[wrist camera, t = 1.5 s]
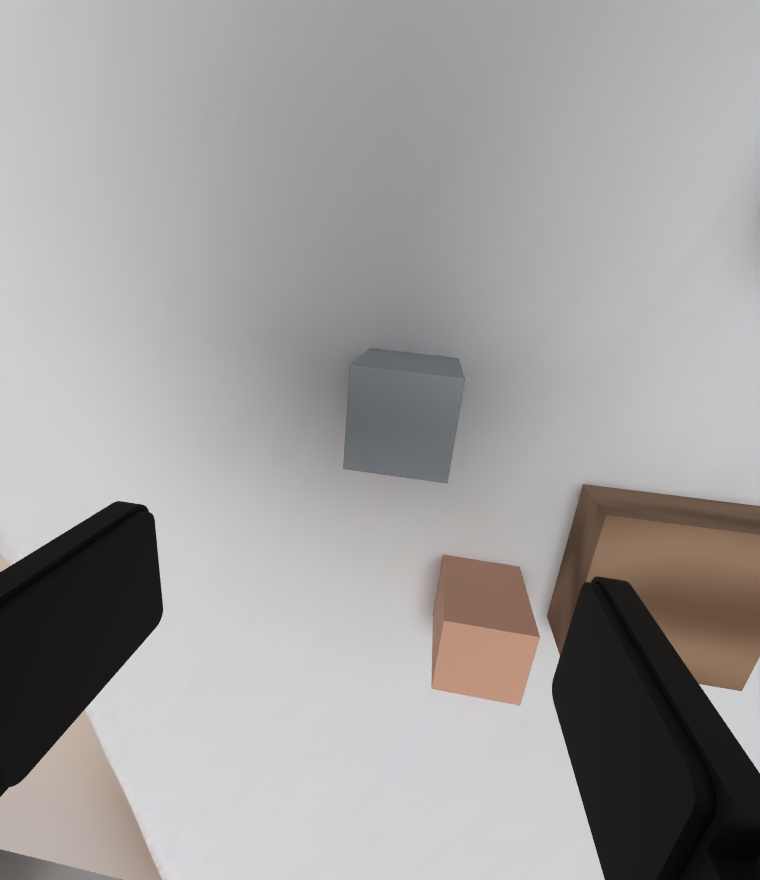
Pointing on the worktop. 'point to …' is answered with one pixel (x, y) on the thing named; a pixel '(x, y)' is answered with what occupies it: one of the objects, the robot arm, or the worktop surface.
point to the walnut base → (672, 573)
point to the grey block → (403, 414)
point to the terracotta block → (482, 631)
